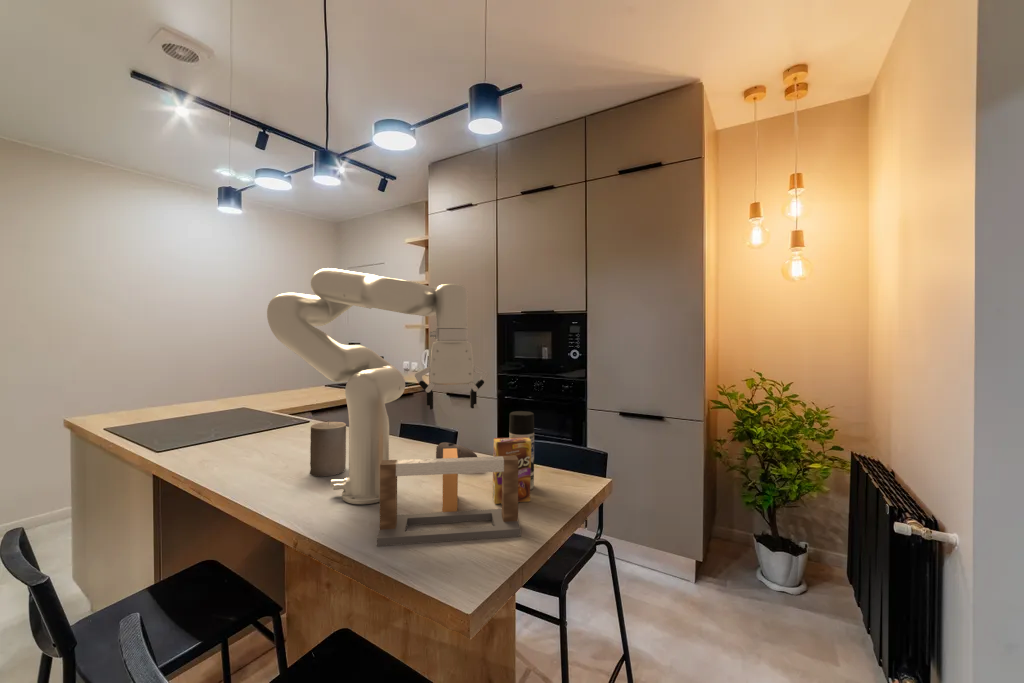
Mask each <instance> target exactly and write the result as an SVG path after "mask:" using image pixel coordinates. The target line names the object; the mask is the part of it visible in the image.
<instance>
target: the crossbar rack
mask: <svg viewBox="0 0 1024 683" xmlns="http://www.w3.org/2000/svg"><path fill="white" fill-rule="evenodd" d="M493 472H502V503H501V508H491V509H473V510H471V509H470V510H457V511H453V512H442V511H438V512H423V513H422V512H421V513H419V512H418V513H405V514H398V477H410V476H413V477H414V476H430V475H432V476H435V475H443V474H477V473H478V474H479V473H480V474H481V473H483V474H484V473H493ZM518 516H519V502H518V458H517V456H516V455H515V456H497V457H493V456H477V457H469V458H442V459H436V458H420V459H419V458H418V459H417V458H416V459H389V460H382V462H381V464H380V502H379V531H378V533H377V537H376V547H384V546H385V547H386V546H397V545H398V546H400V545H412V544H425V543H426V544H427V543H428V544H429V543H440V542H443V543H444V542H455V541H458V542H459V541H471V540H472V541H473V540H484V539H501V538H502V539H503V538H516V537H521V535H522V534H521V533H522V531H521V530H522V528H521V526H520V522H519V520H518ZM479 521H480V522H481V521H491V524H492V525H487V526H486V525H485V526H472V527H471V526H469V527H456V528H455V527H454V528H440V529H439V528H438V529H425V530H412V531H411V530H410V531H407V529H408V526H414V525H417V526H418V525H430V524H445V523H446V524H447V523H450V524H451V523H463V522H464V523H465V522H479Z"/></svg>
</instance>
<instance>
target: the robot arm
mask: <svg viewBox="0 0 1024 683" xmlns="http://www.w3.org/2000/svg"><path fill="white" fill-rule="evenodd" d="M310 287H311V291H312V293H313V294H307V293H306V294H305V293H299V292H298V293H297V292H284V293H280V294H278V295H276V296H274V297H272V299H271V300H270V301H269V303H268V305H267V309H266V318H267V323H268V326H269V328H270V331H271V332H272V334H273V336H274V337H275V338H276V339H277V340H278V341H279V342H280V343H281V344H282V345H283V346H285V347H286V348H287V349H289V350H290V351H291V352H293V353H294V354H296V355H297V356H298V357H300V358H301V359H302V360H303V361H305V362H306V363H307V364H308V365H309V366H311V367H312V368H313V369H315V370H316V371H317V372H319V374H320V375H322V376H324V377H325V378H326V379H328V380H330V381H331V382H334V383H343V382H344V383H345V382H346V385H345V388H344V389H345V390H344V391H345V393H344V394H345V395H344V396H345V401H346V405H347V412H348V413H347V414H348V477H345V478H344V479H343V478H341V479H340V478H332V479H331V480H330V488H333V490H334V491H335V490H337V491H338V490H343V491H342V493H341V499H342V500H343V501H344V502H345V503H348V504H352V505H369V504H376V503H380V464H381V462H382V460H390V419H389V415H388V412H387V408H386V404H388V403H391V402H394V401H396V400H397V399H399V398H400V397H401V396H402V395H403V393H404V392H405V389H406V381H405V378H404V376H403V374H402V372H401V371H399V369H398V368H397V367H395V366H394V365H392V363H390V362H389V361H387V360H386V359H384V358H383V357H382V356H380V355H379V354H378V353H377V352H375V351H374V350H372V349H371V348H369V347H367V346H364V345H359V344H342V343H340V342H339V341H337V340H335V339H333V338H332V337H331V336H329V335H328V333H326V332H324V330H321V329H319V328H317V327H323V326H326V325H328V324H330V323H332V322H333V321H334V320H335V319H337V318H338V317H340V316H341V315H342V314H343V313H345V312H347V311H348V310H349V309H351V307H353V306H355V307H359V308H363V309H364V308H366V309H370V310H371V309H378V310H384V311H389V312H394V313H399V314H404V315H410V316H411V315H413V316H419V317H420V316H421V317H432V316H435V330H433V331H429V338H432V339H435V341H434V342H432V345H431V352H430V364H429V366H426V367H425V368H423V369H421V370H419V371H417V372H416V373H414V377H415V379H416V381H417V383H418V386H420V388H422V389H423V390H424V391H425V392H426V406H429V410H433V409H434V391H433V389H434V387H436V386H438V385H439V386H443V385H444V386H447V385H449V386H450V385H453V386H454V385H468V386H469V387H470V391H469V395H470V396H469V406H470V408H471V409H475V405H477V400H478V399H477V397H478V396H477V394H478V393H477V392H478V390H480V388H481V387H483V385H484V384H485V382H486V380H487V378H488V376H489V373H488V372H487V371H485V370H483V369H482V368H479V367H478V366H476V365H474V355H473V347H472V343H471V341H470V342H469V341H468V336H469V335H468V333H469V330H468V328H469V327H468V326H469V325H468V322H469V321H468V320H469V319H468V313H469V312H468V311H469V309H468V306H469V305H468V304H469V300H468V297H469V296H468V295H469V294H468V292H469V291H468V289H467V287H466V286H465V285H462V284H457V283H445V284H440V285H438V286H437V287H436V286H430V285H425V284H423V283H419V282H416V281H412V280H405V279H400V278H393V277H387V276H379V275H376V274H371V273H363V272H357V271H352V270H351V271H350V270H344V269H338V268H332V267H331V268H329V267H327V268H321V269H319V270H317V271H315V272H314V274H313V275H312V277H311V279H310ZM314 294H315V295H314ZM474 373H476V374H478V375H480V378H479V380H478V381H477V382H476V383H475V382H473V381H474ZM427 374H429V380H430V382H429V383H427V382H426V381H424V379H423V376H424V375H425V376H426V375H427Z"/></svg>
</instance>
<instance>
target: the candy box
mask: <svg viewBox="0 0 1024 683" xmlns="http://www.w3.org/2000/svg"><path fill="white" fill-rule="evenodd" d="M492 454H493V455H492V457H497V456H515V455H516V456H517V458H518V503H525V502H526V503H527V502H528V503H529V502H531V490H530V479H531V440H530V439H529V438H528V437H514V438H509V437H494V438H493V453H492ZM491 493H492V500H493V502H494V505H499V504H502V472H492V492H491Z"/></svg>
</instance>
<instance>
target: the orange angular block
mask: <svg viewBox="0 0 1024 683" xmlns="http://www.w3.org/2000/svg"><path fill="white" fill-rule="evenodd" d="M443 458H458V455H457V448H449V449H443ZM458 481H459V475H458V474H442V505H441V506H442V507H441V508H442V511H441V512H453V511H458V497H459V496H458V495H459V494H458V493H459V491H458V489H459V488H458V487H459V484H458Z"/></svg>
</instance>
